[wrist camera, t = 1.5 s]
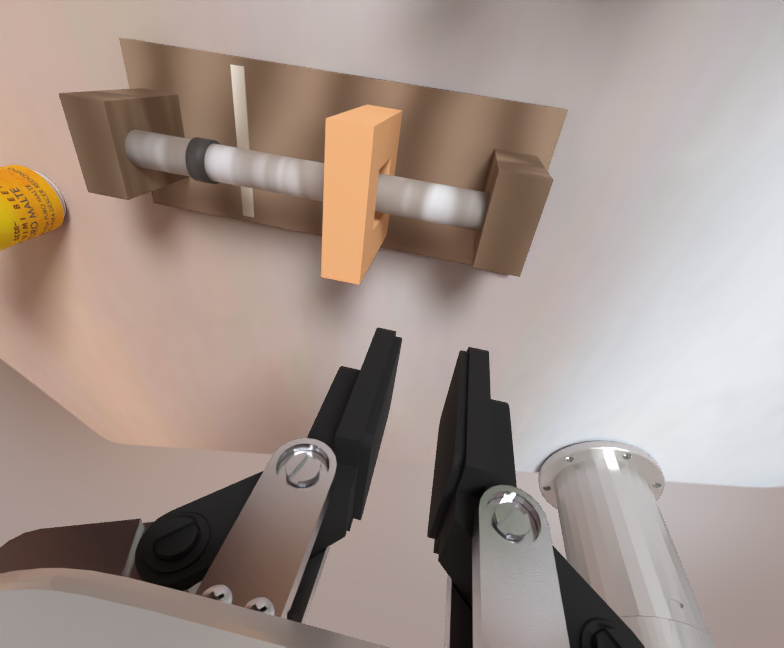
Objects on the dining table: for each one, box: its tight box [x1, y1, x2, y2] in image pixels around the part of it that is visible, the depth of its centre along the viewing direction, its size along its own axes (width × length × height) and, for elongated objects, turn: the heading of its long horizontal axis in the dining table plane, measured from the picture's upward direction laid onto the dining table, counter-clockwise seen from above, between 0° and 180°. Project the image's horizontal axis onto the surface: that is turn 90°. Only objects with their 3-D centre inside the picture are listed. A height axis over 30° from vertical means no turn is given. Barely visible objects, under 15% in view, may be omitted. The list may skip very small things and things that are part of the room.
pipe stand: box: [59, 38, 568, 277], centre depth 28 cm, size 32×12×8 cm, turn 82°
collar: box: [321, 104, 403, 285], centre depth 26 cm, size 2×9×9 cm, turn 172°
